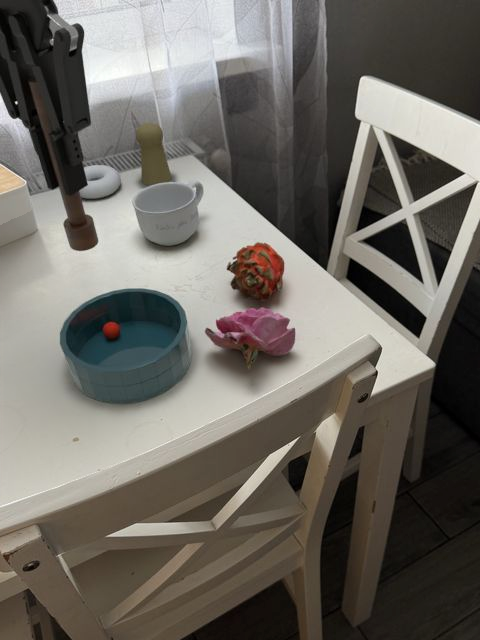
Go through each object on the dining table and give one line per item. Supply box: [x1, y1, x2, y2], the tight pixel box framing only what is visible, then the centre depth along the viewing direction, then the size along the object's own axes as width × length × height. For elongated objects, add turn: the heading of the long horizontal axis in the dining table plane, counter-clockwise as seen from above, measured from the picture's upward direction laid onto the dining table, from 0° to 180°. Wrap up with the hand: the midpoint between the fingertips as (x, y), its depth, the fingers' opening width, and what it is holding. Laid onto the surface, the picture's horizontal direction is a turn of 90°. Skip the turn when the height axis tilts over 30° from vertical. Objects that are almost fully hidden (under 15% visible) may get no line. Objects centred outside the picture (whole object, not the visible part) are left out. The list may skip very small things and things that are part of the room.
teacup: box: [131, 179, 204, 247], centre depth 103 cm, size 14×11×8 cm
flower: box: [204, 306, 296, 386], centre depth 80 cm, size 11×10×10 cm
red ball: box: [103, 322, 120, 339], centre depth 85 cm, size 2×2×2 cm
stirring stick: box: [28, 76, 99, 252], centre depth 65 cm, size 3×3×19 cm
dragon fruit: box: [226, 241, 285, 302], centre depth 91 cm, size 8×8×12 cm
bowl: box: [59, 287, 193, 405], centre depth 81 cm, size 17×17×6 cm
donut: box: [79, 164, 122, 200], centre depth 117 cm, size 10×4×10 cm
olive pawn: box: [135, 122, 173, 187], centre depth 117 cm, size 6×6×11 cm
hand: (68, 186), depth 66 cm, fingers closed on stirring stick, 2 cm apart
